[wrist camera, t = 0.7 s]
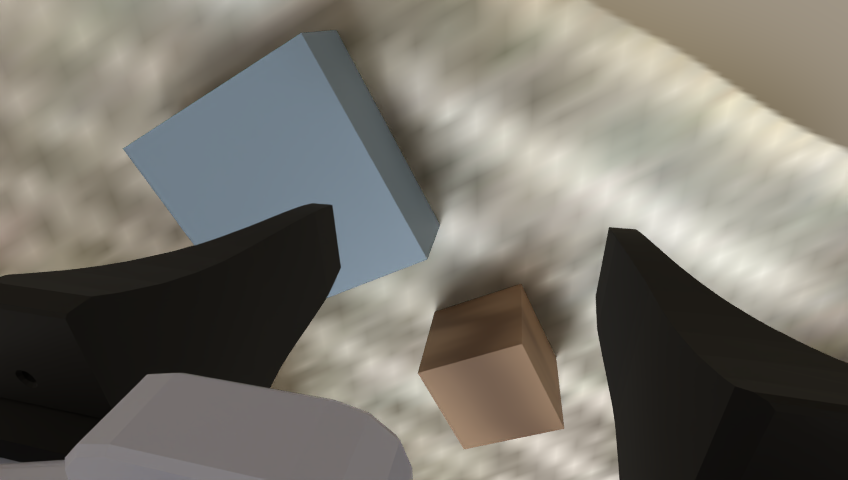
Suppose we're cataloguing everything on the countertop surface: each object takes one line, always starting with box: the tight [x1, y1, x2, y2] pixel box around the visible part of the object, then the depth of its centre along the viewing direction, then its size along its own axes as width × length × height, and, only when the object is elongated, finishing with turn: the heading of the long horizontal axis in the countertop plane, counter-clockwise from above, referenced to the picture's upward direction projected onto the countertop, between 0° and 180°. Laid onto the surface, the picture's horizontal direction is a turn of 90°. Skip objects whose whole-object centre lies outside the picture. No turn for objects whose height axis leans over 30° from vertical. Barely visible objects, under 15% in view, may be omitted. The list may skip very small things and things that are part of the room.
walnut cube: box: [418, 284, 564, 449], centre depth 23 cm, size 5×5×5 cm
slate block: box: [123, 30, 440, 298], centre depth 22 cm, size 10×10×4 cm
